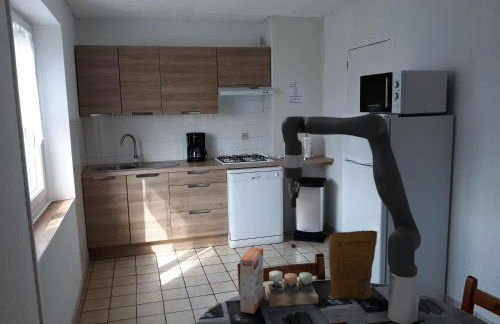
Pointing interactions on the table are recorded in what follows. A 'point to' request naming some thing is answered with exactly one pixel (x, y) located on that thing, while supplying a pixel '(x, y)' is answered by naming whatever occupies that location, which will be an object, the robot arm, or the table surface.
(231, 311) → the table surface
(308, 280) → the pale green ball
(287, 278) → the peach ball
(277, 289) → the tan slotted panel
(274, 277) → the white round piece
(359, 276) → the pancake mix bag
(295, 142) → the robot arm
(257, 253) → the cracker box
